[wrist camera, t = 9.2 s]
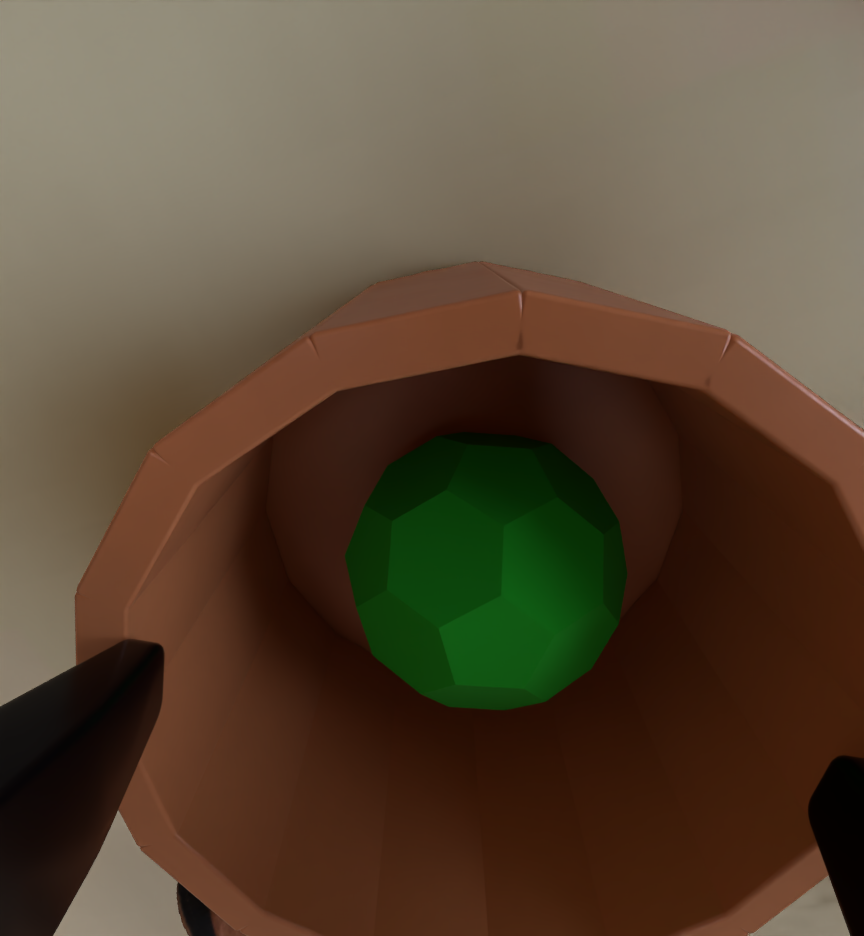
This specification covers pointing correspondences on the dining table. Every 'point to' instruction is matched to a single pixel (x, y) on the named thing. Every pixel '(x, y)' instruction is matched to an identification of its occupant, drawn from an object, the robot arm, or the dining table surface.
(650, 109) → the dining table surface
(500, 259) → the dining table surface
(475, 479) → the polyhedron
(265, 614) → the pot
